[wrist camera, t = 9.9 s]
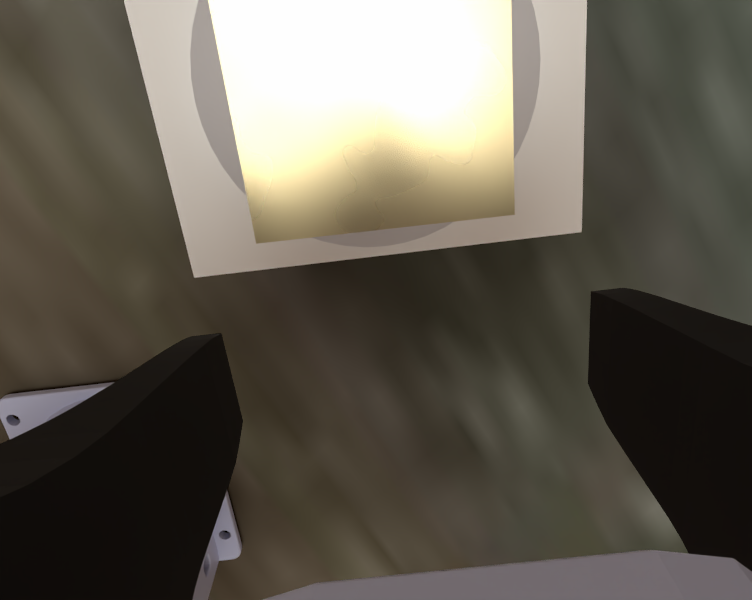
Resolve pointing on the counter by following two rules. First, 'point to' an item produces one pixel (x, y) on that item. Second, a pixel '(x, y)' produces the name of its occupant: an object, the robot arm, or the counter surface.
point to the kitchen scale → (241, 253)
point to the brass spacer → (369, 111)
